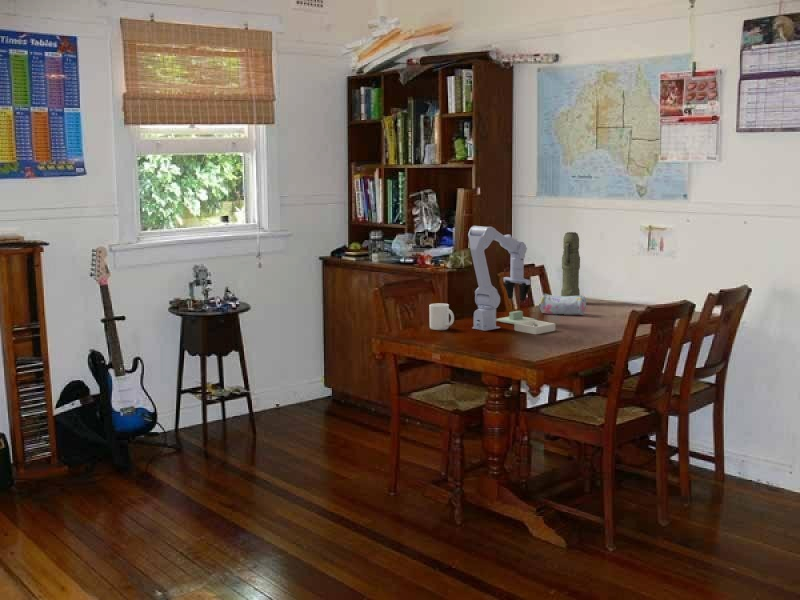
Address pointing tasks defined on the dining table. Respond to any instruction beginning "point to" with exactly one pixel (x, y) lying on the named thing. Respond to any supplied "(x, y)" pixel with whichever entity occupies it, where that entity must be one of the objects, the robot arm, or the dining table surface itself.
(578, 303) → the pencil case
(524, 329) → the box
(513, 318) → the lid
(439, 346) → the dining table surface
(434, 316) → the mug
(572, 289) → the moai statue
